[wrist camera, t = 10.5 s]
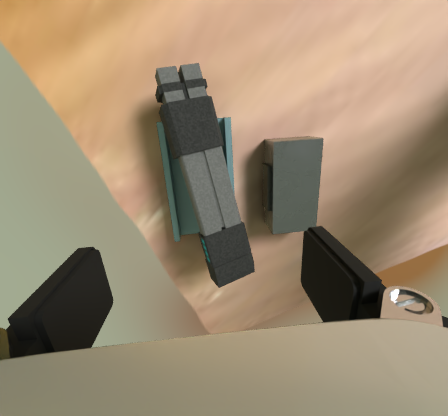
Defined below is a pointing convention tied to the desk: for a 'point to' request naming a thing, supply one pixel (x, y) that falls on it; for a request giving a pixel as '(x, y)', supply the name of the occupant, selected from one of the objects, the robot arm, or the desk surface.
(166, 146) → the cradle tray
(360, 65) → the desk surface
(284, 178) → the block
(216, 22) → the desk surface
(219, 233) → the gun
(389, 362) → the robot arm
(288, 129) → the desk surface
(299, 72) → the desk surface
